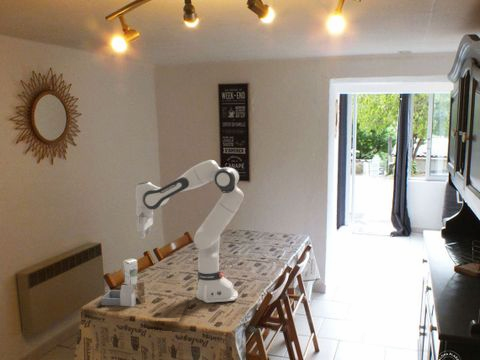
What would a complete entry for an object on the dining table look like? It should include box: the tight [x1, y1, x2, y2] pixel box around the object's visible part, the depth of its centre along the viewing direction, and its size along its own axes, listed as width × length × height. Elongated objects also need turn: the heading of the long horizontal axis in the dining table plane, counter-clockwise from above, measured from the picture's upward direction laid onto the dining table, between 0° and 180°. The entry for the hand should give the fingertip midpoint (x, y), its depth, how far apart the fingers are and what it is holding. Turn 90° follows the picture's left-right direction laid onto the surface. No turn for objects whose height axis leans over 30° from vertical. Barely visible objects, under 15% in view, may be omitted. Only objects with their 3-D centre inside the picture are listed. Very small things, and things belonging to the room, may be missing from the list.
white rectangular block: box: [119, 284, 137, 308], centre depth 216 cm, size 4×7×10 cm, turn 73°
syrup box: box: [123, 258, 139, 286], centre depth 246 cm, size 6×6×14 cm
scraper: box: [136, 280, 146, 304], centre depth 221 cm, size 3×7×10 cm, turn 28°
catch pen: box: [100, 289, 121, 306], centre depth 221 cm, size 10×12×4 cm
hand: (145, 236), depth 232 cm, fingers open, 8 cm apart
